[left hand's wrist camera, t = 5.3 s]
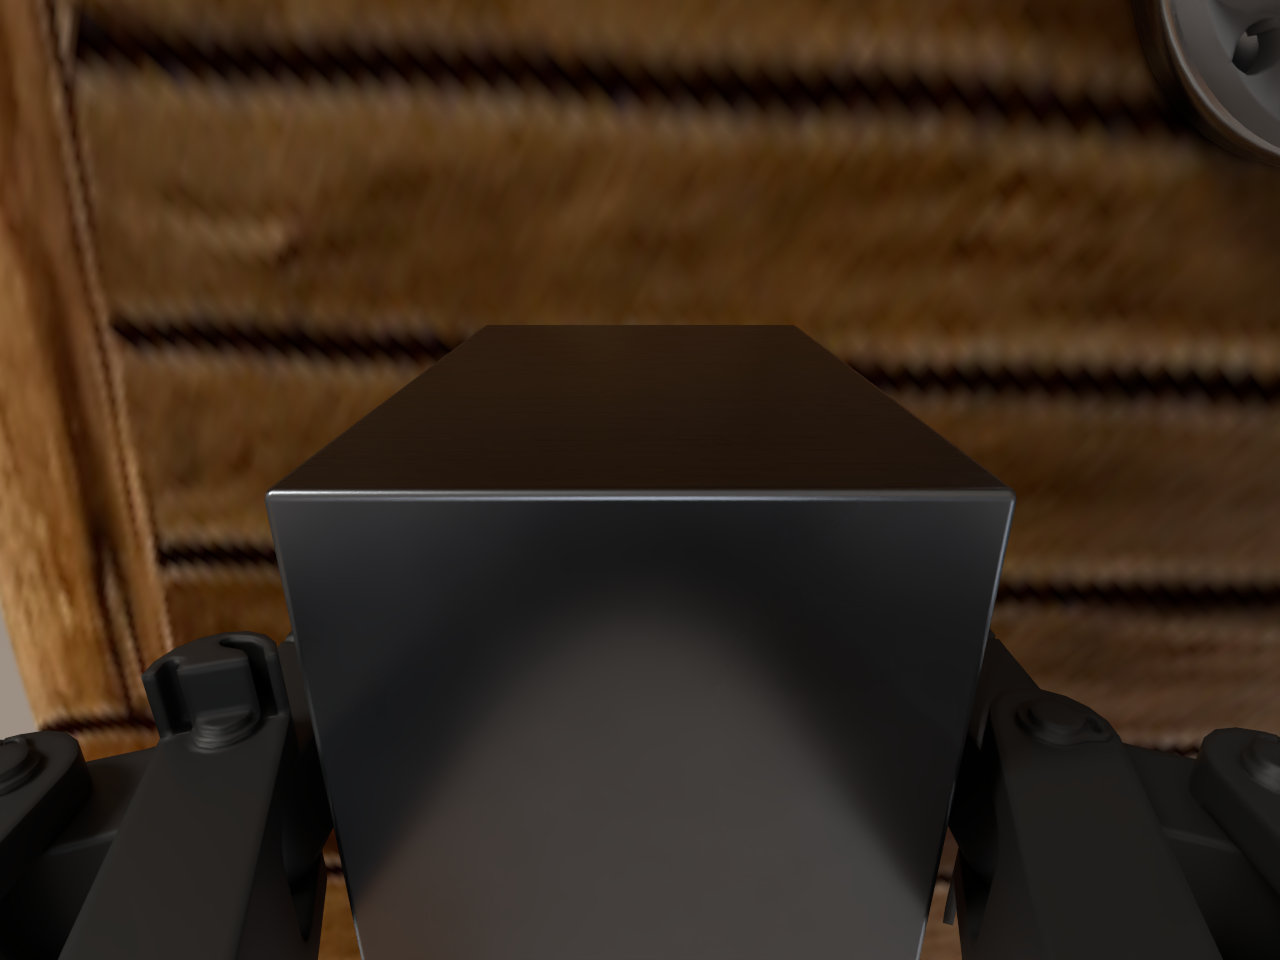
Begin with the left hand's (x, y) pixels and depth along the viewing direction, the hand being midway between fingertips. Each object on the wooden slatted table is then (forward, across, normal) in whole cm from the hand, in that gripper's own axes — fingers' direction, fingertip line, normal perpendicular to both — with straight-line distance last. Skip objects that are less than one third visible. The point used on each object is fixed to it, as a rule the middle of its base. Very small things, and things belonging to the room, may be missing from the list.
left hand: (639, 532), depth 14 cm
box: (0, 0, -7) cm, 7 cm away
